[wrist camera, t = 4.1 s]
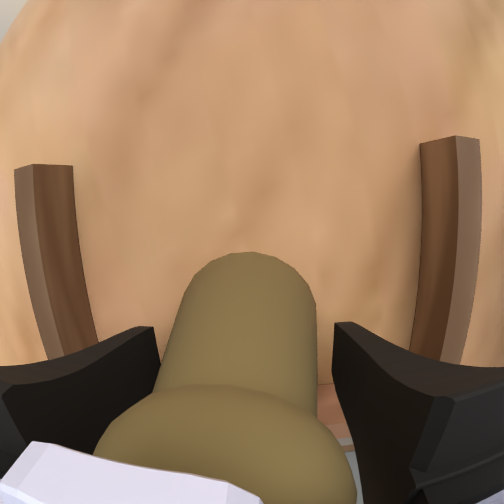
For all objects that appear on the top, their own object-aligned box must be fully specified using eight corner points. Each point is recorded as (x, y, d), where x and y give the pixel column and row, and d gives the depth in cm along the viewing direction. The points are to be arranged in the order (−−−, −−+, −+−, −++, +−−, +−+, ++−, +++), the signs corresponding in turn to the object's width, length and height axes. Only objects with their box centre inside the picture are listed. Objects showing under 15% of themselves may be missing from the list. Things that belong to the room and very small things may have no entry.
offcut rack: (441, 145, 12) (479, 139, 9) (410, 420, 15) (427, 453, 12) (54, 169, 13) (14, 169, 10) (108, 424, 16) (89, 455, 13)
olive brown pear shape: (326, 361, 14) (383, 582, 3) (203, 383, 14) (140, 587, 4) (301, 236, 13) (424, 440, 2) (164, 268, 13) (-23, 441, 3)
